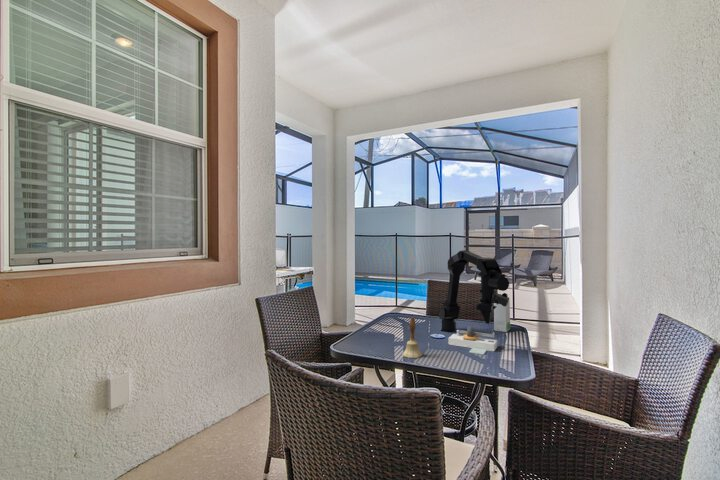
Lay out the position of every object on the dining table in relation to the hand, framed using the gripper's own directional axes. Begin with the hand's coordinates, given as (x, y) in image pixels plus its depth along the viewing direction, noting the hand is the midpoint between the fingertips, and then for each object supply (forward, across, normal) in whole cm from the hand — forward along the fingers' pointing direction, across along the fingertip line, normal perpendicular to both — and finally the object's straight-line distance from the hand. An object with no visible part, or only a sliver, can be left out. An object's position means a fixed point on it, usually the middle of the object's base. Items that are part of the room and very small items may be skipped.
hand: (487, 323), depth 152 cm
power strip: (+12, +4, +8) cm, 15 cm away
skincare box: (+12, +38, 0) cm, 40 cm away
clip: (+8, +7, +7) cm, 12 cm away
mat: (+12, -4, +4) cm, 13 cm away
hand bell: (+12, -21, +26) cm, 36 cm away
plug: (+12, +4, +8) cm, 15 cm away
